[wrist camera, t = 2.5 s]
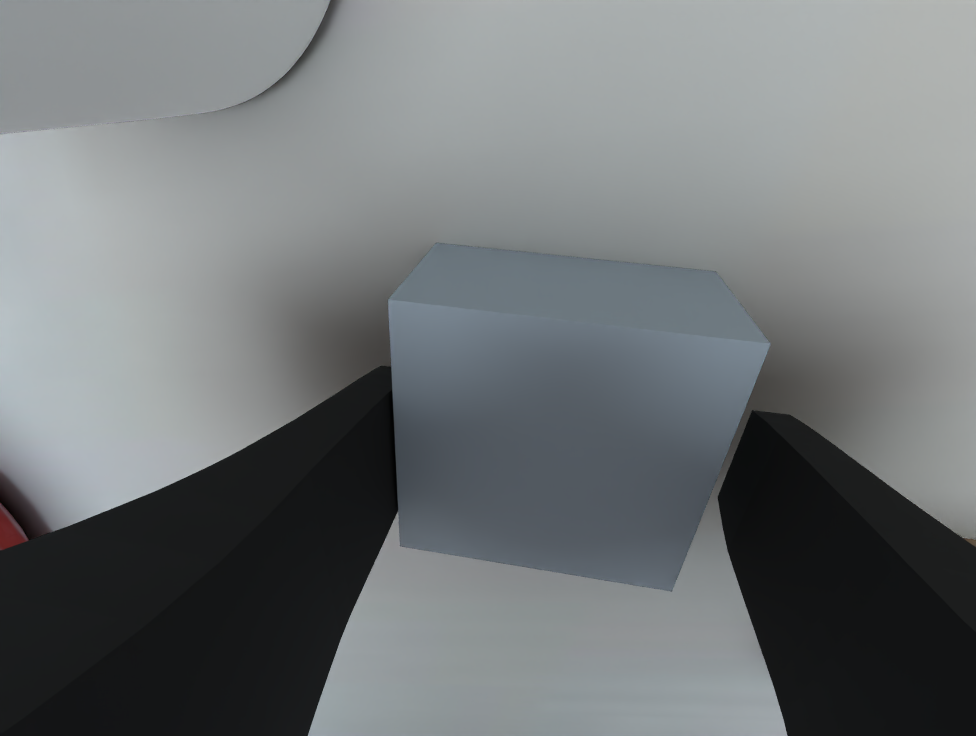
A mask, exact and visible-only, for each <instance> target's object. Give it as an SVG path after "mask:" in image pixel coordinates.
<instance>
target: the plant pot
mask: <svg viewBox="0 0 976 736" xmlns="http://www.w3.org/2000/svg"><path fill="white" fill-rule="evenodd" d="M26 541H29V539H28V538H27V536H26V535H25V533H24V531H23V530H22V528H21V527H20V525H19V524H18V523H17V521H16V520H15V519H14V518H13V516H12V515H11V514H10V513H9V512H8V511H7V509H6V508H5V507H4V506H3V505H2V504H1V503H0V550H3V549H6V548H9V547H12V546H15V545H17V544H20V543H23V542H26Z"/></svg>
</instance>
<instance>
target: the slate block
mask: <svg viewBox="0 0 976 736" xmlns="http://www.w3.org/2000/svg"><path fill="white" fill-rule="evenodd" d="M388 311H389V331H390V352H391V372H392V392H393V413H394V433H395V454H396V474H397V495H398V515H399V536H400V546H402V547H408V548H414V549H420V550H426V551H432V552H438V553H444V554H450V555H456V556H462V557H468V558H474V559H480V560H486V561H492V562H498V563H504V564H510V565H516V566H522V567H528V568H534V569H540V570H546V571H552V572H558V573H564V574H570V575H576V576H582V577H588V578H594V579H600V580H606V581H612V582H618V583H624V584H630V585H636V586H642V587H648V588H654V589H660V590H666V591H672V590H673V587H674V585H675V582H676V580H677V577H678V575H679V572H680V570H681V567H682V565H683V562H684V560H685V557H686V555H687V552H688V550H689V547H690V545H691V542H692V540H693V537H694V535H695V532H696V530H697V527H698V525H699V522H700V520H701V517H702V515H703V512H704V510H705V507H706V505H707V502H708V500H709V497H710V495H711V492H712V490H713V487H714V485H715V482H716V480H717V477H718V475H719V472H720V470H721V467H722V465H723V462H724V460H725V457H726V455H727V452H728V450H729V447H730V445H731V442H732V440H733V437H734V435H735V432H736V430H737V427H738V425H739V422H740V420H741V417H742V415H743V412H744V410H745V407H746V405H747V402H748V400H749V397H750V395H751V392H752V390H753V387H754V385H755V382H756V380H757V377H758V375H759V372H760V370H761V367H762V365H763V362H764V360H765V357H766V355H767V352H768V350H769V347H770V345H771V343H770V342H769V341H768V340H767V338H766V337H765V336H764V334H763V333H762V332H761V330H760V329H759V328H758V326H757V325H756V324H755V322H754V321H753V320H752V318H751V317H750V316H749V314H748V313H747V312H746V310H745V309H744V308H743V306H742V305H741V304H740V302H739V301H738V300H737V298H736V297H735V296H734V295H733V293H732V292H731V291H730V289H729V288H728V287H727V285H726V284H725V283H724V281H723V280H722V279H721V277H720V276H719V275H718V273H717V272H716V271H706V270H696V269H686V268H677V267H667V266H657V265H647V264H638V263H628V262H618V261H609V260H599V259H589V258H579V257H570V256H560V255H550V254H540V253H531V252H521V251H511V250H501V249H492V248H482V247H472V246H462V245H453V244H443V243H436V244H435V245H434V246H433V247H432V248H431V250H430V251H429V252H428V253H427V254H426V255H425V257H424V258H423V259H422V260H421V261H420V262H419V264H418V265H417V266H416V267H415V268H414V270H413V271H412V272H411V273H410V274H409V275H408V277H407V278H406V279H405V280H404V281H403V282H402V284H401V285H400V286H399V287H398V288H397V290H396V291H395V292H394V293H393V294H392V295H391V297H390V298H389V299H388Z"/></svg>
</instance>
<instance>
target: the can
mask: <svg viewBox="0 0 976 736" xmlns="http://www.w3.org/2000/svg"><path fill="white" fill-rule="evenodd" d="M329 2H330V0H0V134H6V133H16V132H27V131H37V130H47V129H58V128H68V127H78V126H88V125H99V124H109V123H119V122H130V121H139V120H149V119H158V118H167V117H177V116H185V115H193V114H200V113H208V112H213V111H217V110H221V109H225V108H229V107H232V106H235V105H238V104H241V103H243V102H245V101H248V100H250V99H252V98H254V97H255V96H257V95H259V94H261V93H262V92H264V91H265V90H267V89H268V88H269V87H271V86H272V85H273V84H275V83H276V82H277V81H278V80H279V79H280V78H281V77H283V76H284V75H285V74H286V73H287V72H288V71H289V70H290V68H291V67H292V66H293V65H294V64H295V63H296V62H297V60H298V59H299V58H300V56H301V55H302V54H303V52H304V51H305V49H306V48H307V47H308V45H309V43H310V42H311V40H312V38H313V37H314V35H315V33H316V31H317V29H318V28H319V26H320V23H321V21H322V19H323V17H324V15H325V12H326V10H327V8H328V5H329Z"/></svg>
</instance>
